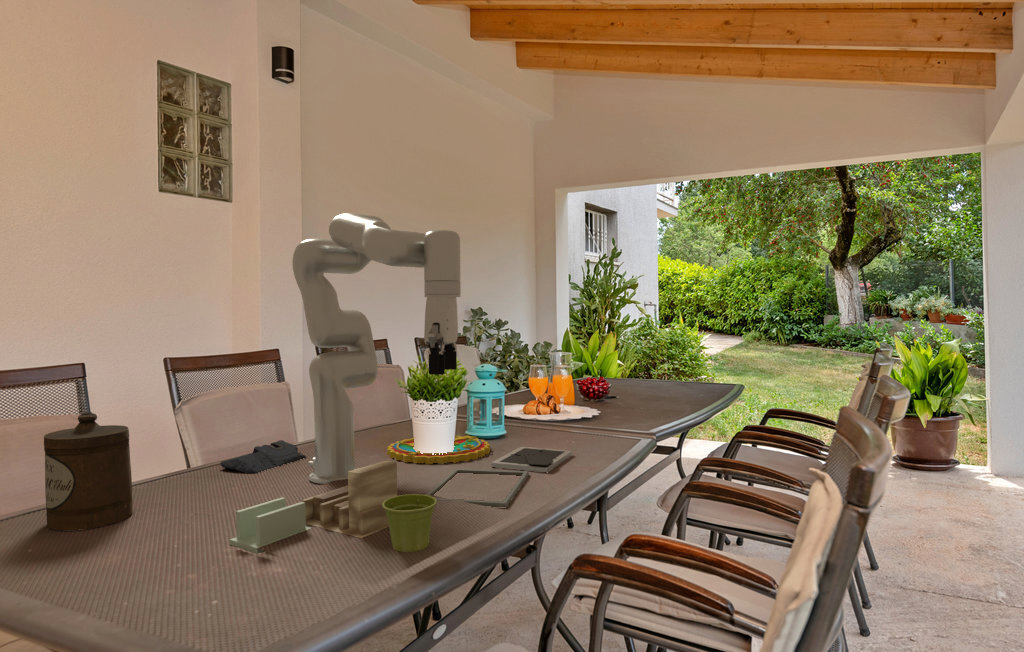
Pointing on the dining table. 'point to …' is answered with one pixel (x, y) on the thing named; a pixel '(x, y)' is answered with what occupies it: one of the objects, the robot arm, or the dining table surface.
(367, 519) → the offcut rack
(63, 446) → the wooden container
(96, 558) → the dining table surface
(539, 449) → the grey-brown pointed piece
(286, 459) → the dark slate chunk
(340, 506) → the walnut offcut
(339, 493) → the walnut offcut
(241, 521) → the green stand
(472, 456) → the decorative plaque
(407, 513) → the plant pot
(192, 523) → the dining table surface
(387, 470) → the maple block
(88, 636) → the dining table surface
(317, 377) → the robot arm
